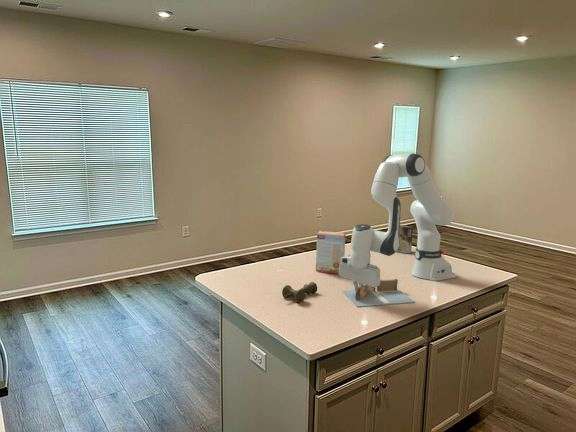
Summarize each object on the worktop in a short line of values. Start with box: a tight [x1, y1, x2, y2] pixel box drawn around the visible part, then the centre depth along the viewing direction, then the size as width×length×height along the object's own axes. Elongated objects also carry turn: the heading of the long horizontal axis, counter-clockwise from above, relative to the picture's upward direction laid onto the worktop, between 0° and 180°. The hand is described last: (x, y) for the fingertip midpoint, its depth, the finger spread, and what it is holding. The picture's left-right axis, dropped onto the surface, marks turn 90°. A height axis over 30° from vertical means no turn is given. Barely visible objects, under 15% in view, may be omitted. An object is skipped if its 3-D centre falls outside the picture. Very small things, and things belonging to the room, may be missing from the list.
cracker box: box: [315, 230, 346, 275], centre depth 228 cm, size 14×6×21 cm, turn 71°
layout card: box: [341, 278, 416, 308], centre depth 196 cm, size 27×18×6 cm, turn 104°
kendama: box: [281, 281, 318, 304], centre depth 193 cm, size 6×10×20 cm
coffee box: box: [396, 225, 414, 254], centre depth 269 cm, size 9×6×16 cm
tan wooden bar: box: [355, 284, 376, 300], centre depth 196 cm, size 16×2×5 cm, turn 140°
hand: (357, 291), depth 195 cm, fingers closed
